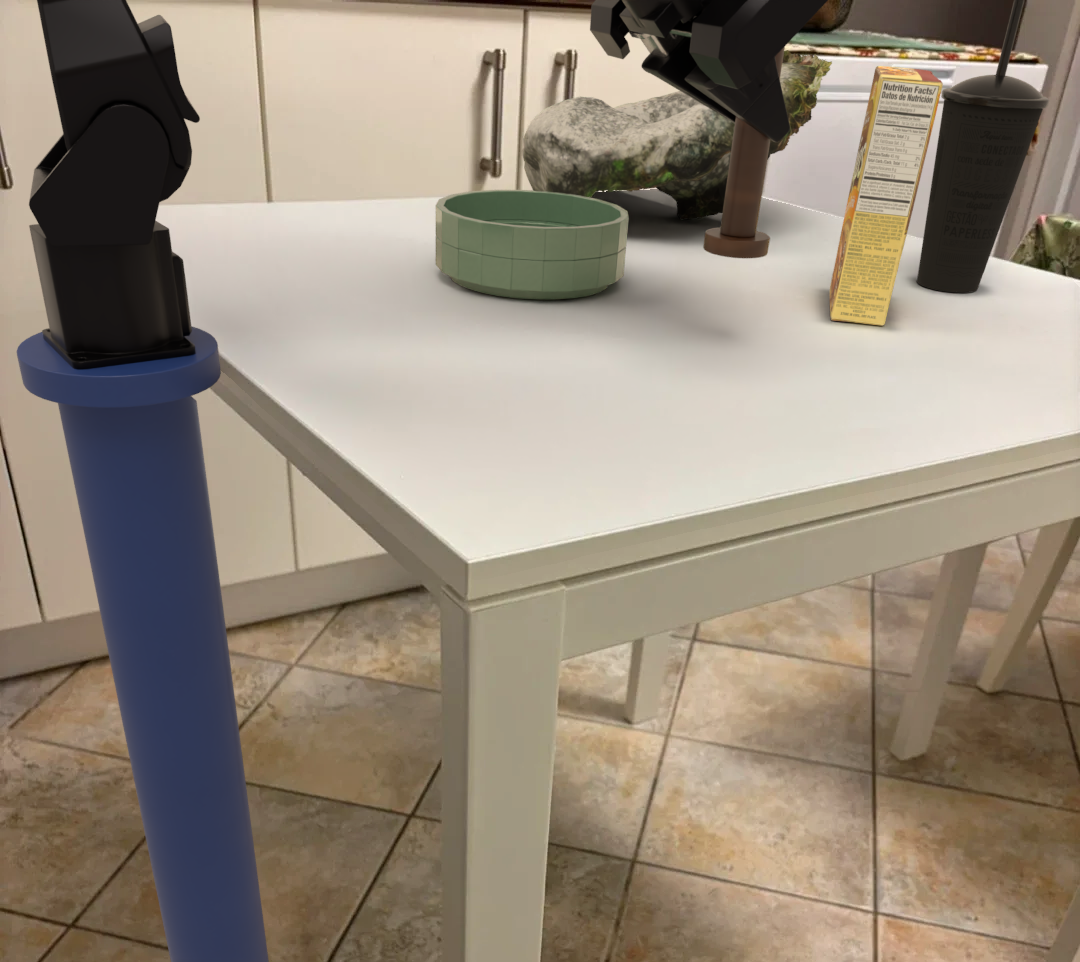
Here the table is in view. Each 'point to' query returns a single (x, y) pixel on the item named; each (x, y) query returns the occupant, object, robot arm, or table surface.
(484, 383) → the table surface
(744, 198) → the brown wooden peg
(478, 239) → the mixing bowl
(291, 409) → the table surface
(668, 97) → the mossy rock
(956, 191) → the drinking cup
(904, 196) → the candy box
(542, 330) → the table surface
